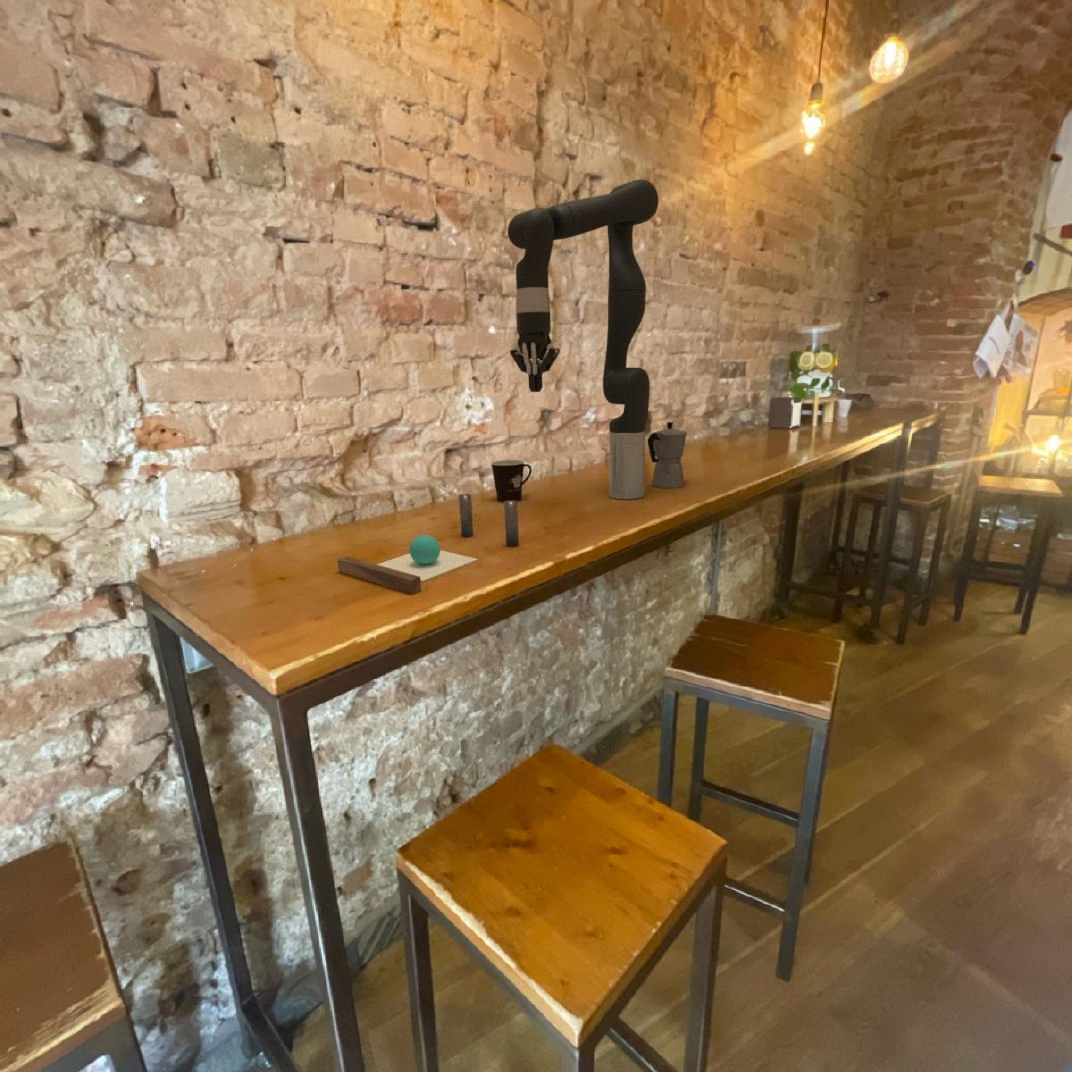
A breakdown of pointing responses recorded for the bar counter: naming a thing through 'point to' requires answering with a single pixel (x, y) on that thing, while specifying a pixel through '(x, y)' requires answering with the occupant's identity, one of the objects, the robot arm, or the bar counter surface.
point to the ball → (424, 549)
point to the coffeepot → (667, 457)
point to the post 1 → (466, 515)
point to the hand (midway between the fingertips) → (535, 391)
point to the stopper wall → (380, 575)
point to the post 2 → (511, 523)
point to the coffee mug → (509, 479)
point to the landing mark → (432, 570)
